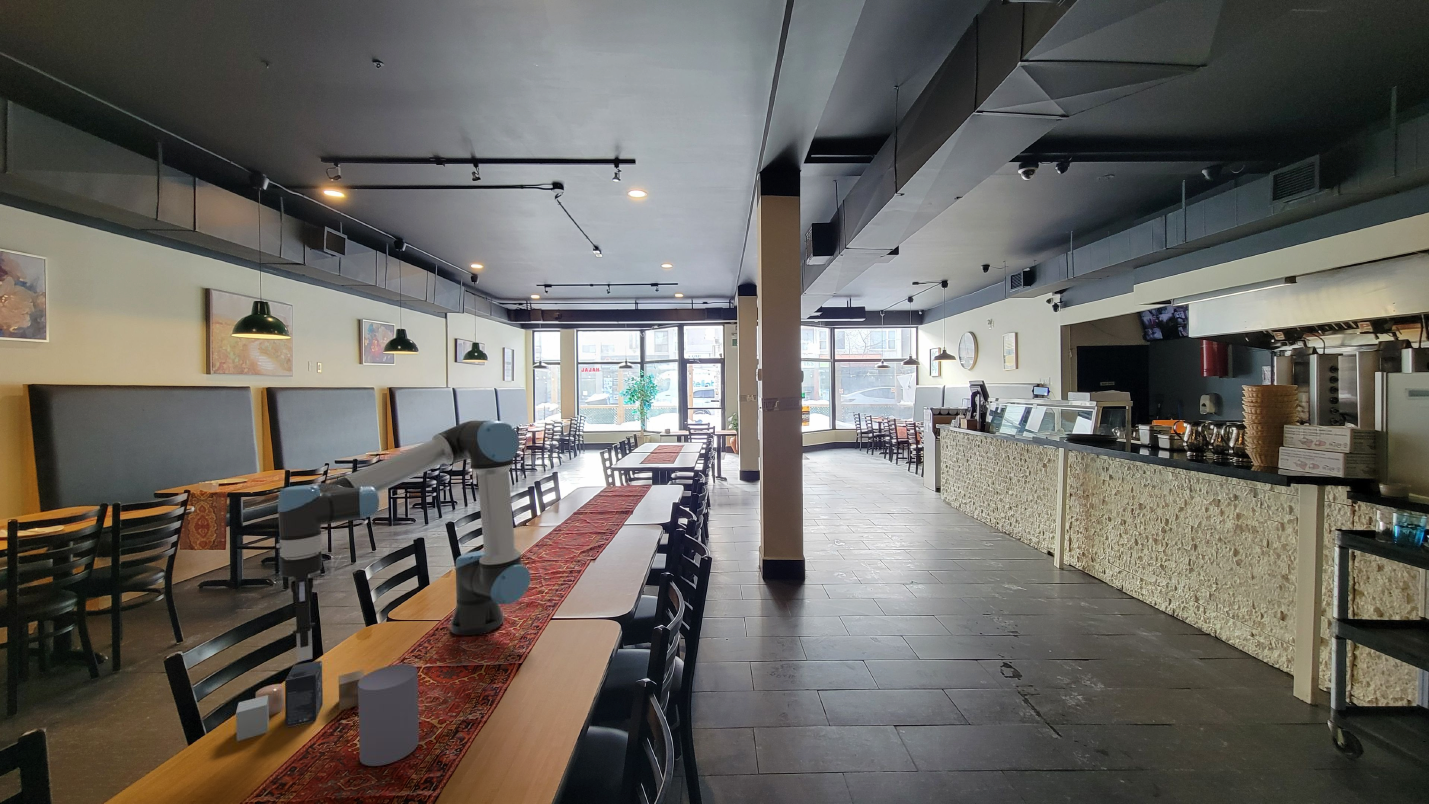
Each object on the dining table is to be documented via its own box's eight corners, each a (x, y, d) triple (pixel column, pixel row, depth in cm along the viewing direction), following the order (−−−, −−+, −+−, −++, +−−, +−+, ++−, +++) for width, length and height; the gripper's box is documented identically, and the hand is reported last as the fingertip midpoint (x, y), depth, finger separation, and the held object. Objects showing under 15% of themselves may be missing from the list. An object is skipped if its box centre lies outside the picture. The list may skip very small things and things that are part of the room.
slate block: (268, 721, 122) (268, 694, 122) (267, 732, 118) (266, 704, 118) (239, 730, 119) (238, 702, 119) (236, 741, 115) (236, 712, 115)
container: (404, 765, 106) (402, 688, 106) (348, 769, 106) (346, 691, 105) (427, 733, 117) (426, 662, 117) (376, 736, 116) (375, 665, 116)
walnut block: (364, 694, 133) (363, 669, 133) (365, 703, 129) (364, 677, 129) (339, 701, 130) (338, 676, 130) (339, 710, 126) (339, 684, 126)
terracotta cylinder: (288, 704, 129) (288, 682, 129) (276, 716, 124) (275, 694, 124) (264, 706, 128) (264, 685, 128) (251, 718, 124) (250, 696, 123)
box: (316, 721, 122) (315, 673, 122) (284, 728, 119) (283, 680, 119) (323, 704, 129) (322, 659, 129) (293, 710, 127) (292, 664, 126)
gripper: (281, 551, 127) (285, 653, 127) (278, 565, 117) (282, 675, 117) (321, 546, 132) (324, 644, 132) (321, 558, 121) (325, 664, 121)
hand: (305, 658), depth 124 cm, fingers closed
